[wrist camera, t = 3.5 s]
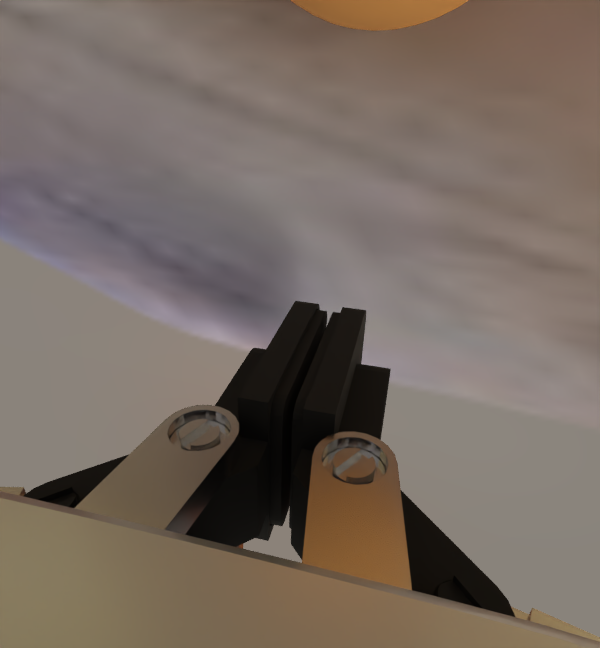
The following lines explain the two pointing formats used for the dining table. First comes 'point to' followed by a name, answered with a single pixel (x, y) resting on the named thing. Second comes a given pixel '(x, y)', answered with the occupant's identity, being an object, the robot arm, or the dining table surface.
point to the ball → (378, 12)
